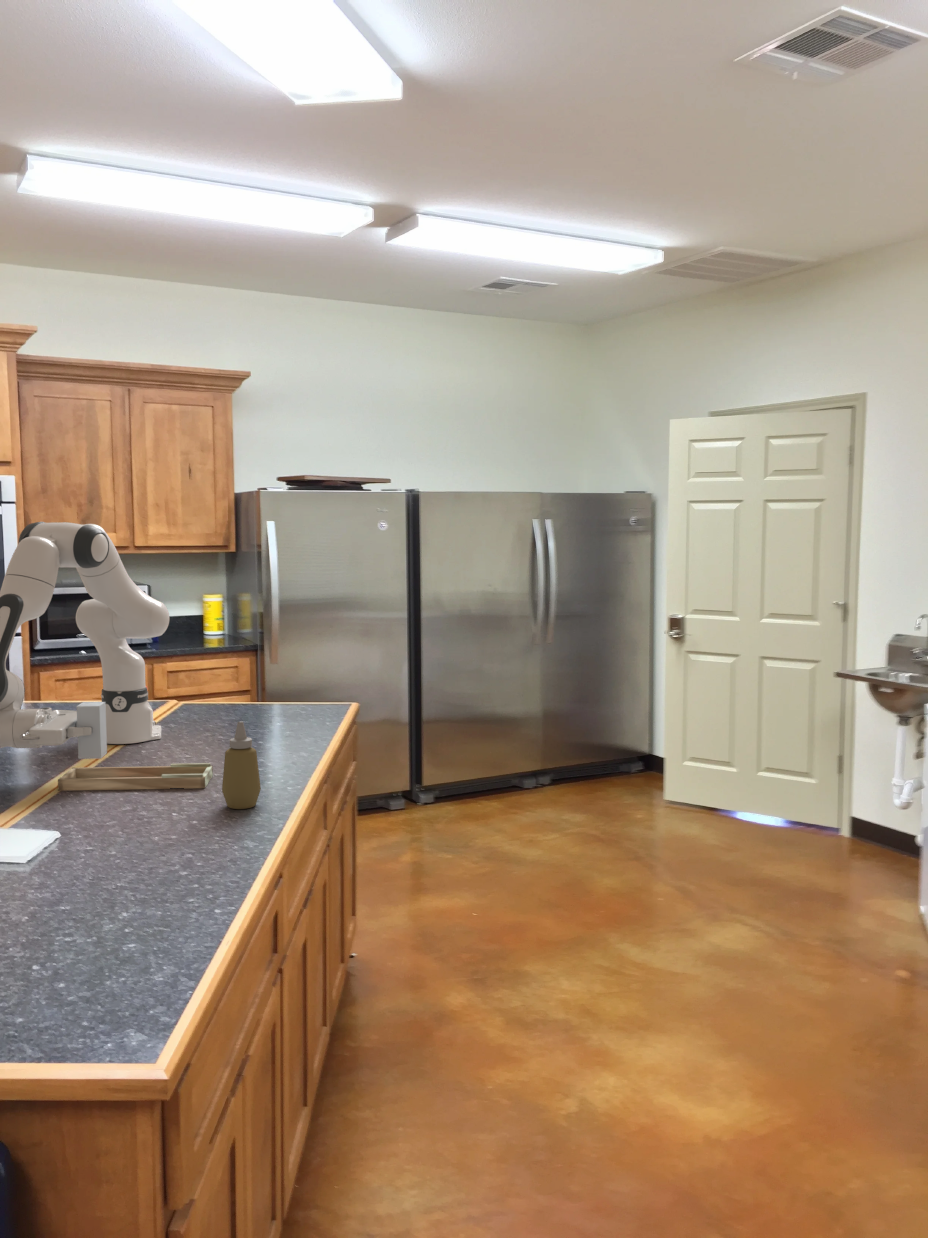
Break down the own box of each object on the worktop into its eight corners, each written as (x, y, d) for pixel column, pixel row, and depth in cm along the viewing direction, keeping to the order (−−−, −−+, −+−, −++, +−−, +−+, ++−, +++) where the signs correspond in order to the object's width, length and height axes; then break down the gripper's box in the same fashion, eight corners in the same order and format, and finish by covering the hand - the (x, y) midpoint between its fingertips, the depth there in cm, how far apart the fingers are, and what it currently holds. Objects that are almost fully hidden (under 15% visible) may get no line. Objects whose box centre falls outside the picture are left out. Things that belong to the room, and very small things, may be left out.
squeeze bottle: (268, 803, 212) (267, 719, 211) (248, 813, 205) (247, 727, 203) (235, 799, 215) (234, 717, 213) (214, 809, 207) (212, 724, 206)
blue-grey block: (84, 753, 229) (82, 702, 228) (107, 753, 229) (105, 701, 228) (78, 758, 224) (76, 706, 223) (101, 758, 224) (99, 706, 223)
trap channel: (73, 778, 232) (72, 765, 232) (212, 775, 235) (212, 763, 235) (58, 790, 221) (57, 777, 221) (205, 788, 224) (204, 774, 224)
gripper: (16, 724, 214) (82, 723, 215) (46, 706, 234) (107, 705, 236) (17, 753, 215) (83, 752, 216) (47, 732, 235) (108, 731, 236)
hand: (95, 727), depth 226 cm, fingers closed on blue-grey block, 5 cm apart
